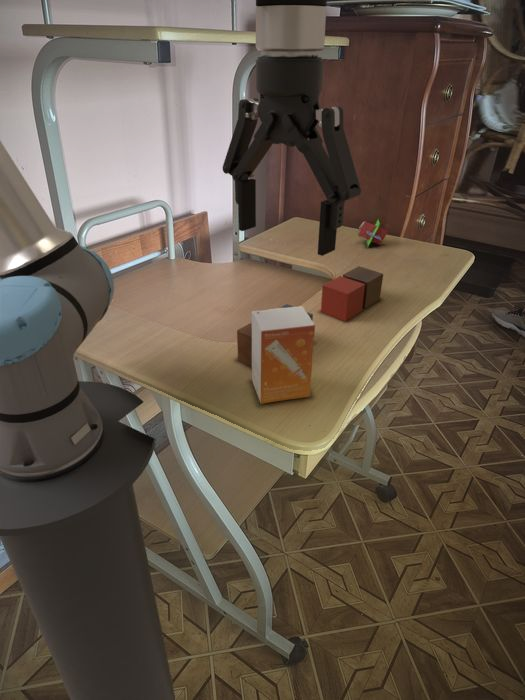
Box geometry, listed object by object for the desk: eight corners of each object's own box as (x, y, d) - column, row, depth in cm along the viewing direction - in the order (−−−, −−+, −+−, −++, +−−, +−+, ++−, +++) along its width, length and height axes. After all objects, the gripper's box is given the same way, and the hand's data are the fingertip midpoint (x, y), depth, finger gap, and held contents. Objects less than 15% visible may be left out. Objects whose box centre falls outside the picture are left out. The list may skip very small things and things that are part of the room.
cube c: (320, 312, 101) (322, 285, 98) (337, 302, 105) (340, 275, 102) (345, 321, 98) (348, 294, 95) (362, 311, 102) (365, 284, 98)
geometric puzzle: (391, 233, 135) (375, 209, 132) (394, 241, 130) (378, 217, 127) (367, 247, 138) (352, 224, 135) (370, 256, 132) (354, 233, 129)
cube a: (237, 360, 86) (236, 330, 83) (261, 346, 90) (261, 317, 87) (263, 373, 83) (263, 342, 80) (286, 358, 87) (287, 328, 83)
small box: (260, 405, 76) (260, 331, 69) (251, 381, 81) (250, 310, 74) (311, 397, 77) (316, 324, 70) (299, 374, 82) (302, 304, 76)
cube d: (340, 300, 106) (342, 274, 102) (356, 291, 109) (358, 266, 106) (364, 309, 102) (367, 282, 99) (379, 299, 106) (383, 273, 103)
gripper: (409, 56, 50) (381, 255, 62) (233, 51, 64) (237, 214, 76) (369, 58, 46) (347, 273, 57) (189, 52, 60) (200, 225, 71)
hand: (284, 239), depth 66 cm, fingers open, 13 cm apart
